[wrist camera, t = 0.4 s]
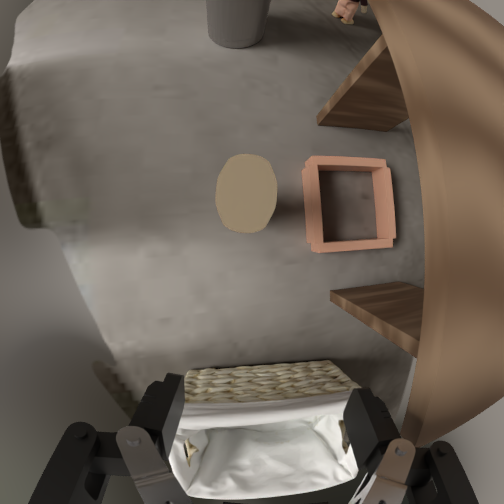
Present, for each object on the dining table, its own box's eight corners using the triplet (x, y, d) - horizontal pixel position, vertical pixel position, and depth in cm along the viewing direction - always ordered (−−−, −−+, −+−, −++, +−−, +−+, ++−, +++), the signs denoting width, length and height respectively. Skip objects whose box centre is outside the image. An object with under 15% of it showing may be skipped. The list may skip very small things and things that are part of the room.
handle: (259, 187, 37) (279, 157, 22) (256, 234, 37) (274, 235, 22) (223, 184, 36) (219, 151, 21) (219, 232, 37) (212, 230, 22)
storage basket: (191, 438, 38) (182, 501, 24) (176, 359, 37) (153, 418, 23) (328, 426, 40) (358, 481, 26) (336, 347, 39) (381, 395, 24)
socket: (300, 162, 37) (307, 155, 33) (377, 164, 38) (388, 159, 34) (307, 251, 38) (314, 253, 34) (383, 245, 39) (396, 246, 35)
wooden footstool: (276, 115, 36) (352, -54, 7) (384, 123, 37) (519, 39, 8) (289, 305, 38) (413, 449, 9) (398, 290, 39) (556, 347, 10)
